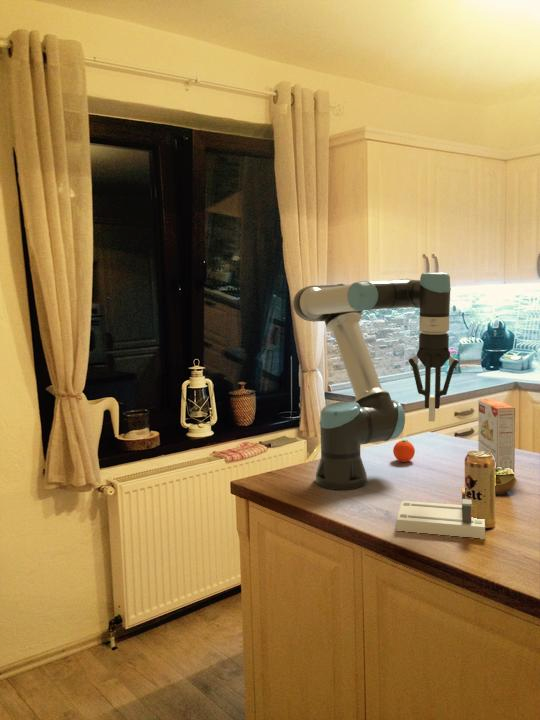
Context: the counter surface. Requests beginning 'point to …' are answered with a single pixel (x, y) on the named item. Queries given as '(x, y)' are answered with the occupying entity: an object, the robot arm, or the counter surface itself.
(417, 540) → the counter surface
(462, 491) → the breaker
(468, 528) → the white flat slotted block
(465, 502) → the on breaker
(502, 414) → the cracker box
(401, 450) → the clementine
